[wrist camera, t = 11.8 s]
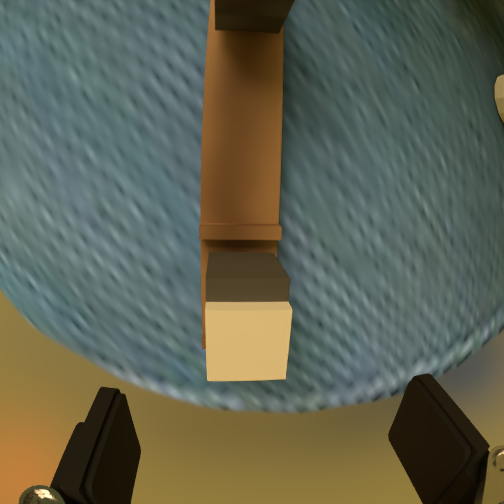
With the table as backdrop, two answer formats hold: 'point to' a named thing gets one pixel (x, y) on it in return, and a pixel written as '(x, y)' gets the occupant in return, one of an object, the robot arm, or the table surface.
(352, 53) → the table surface
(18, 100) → the table surface
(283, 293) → the cream brown block
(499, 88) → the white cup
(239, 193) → the rail
